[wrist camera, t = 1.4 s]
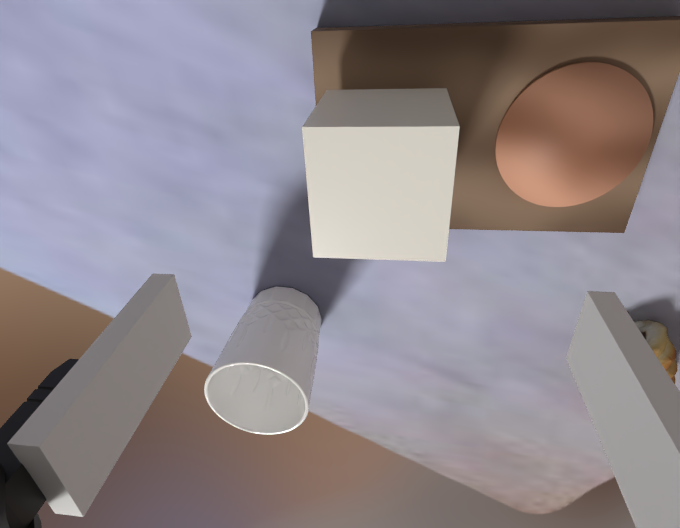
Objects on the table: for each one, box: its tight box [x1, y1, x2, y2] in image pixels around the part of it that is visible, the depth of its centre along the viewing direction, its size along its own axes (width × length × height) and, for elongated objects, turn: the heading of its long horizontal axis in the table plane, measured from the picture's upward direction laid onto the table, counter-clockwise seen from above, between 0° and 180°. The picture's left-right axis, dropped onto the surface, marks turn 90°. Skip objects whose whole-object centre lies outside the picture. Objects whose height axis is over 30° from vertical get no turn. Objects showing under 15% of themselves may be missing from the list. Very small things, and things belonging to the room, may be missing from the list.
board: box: [311, 16, 680, 233], centre depth 26 cm, size 13×21×10 cm, turn 92°
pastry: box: [634, 320, 677, 384], centre depth 38 cm, size 9×7×4 cm
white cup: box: [204, 287, 322, 435], centre depth 37 cm, size 8×8×10 cm
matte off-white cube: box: [302, 88, 460, 262], centre depth 25 cm, size 7×7×8 cm
